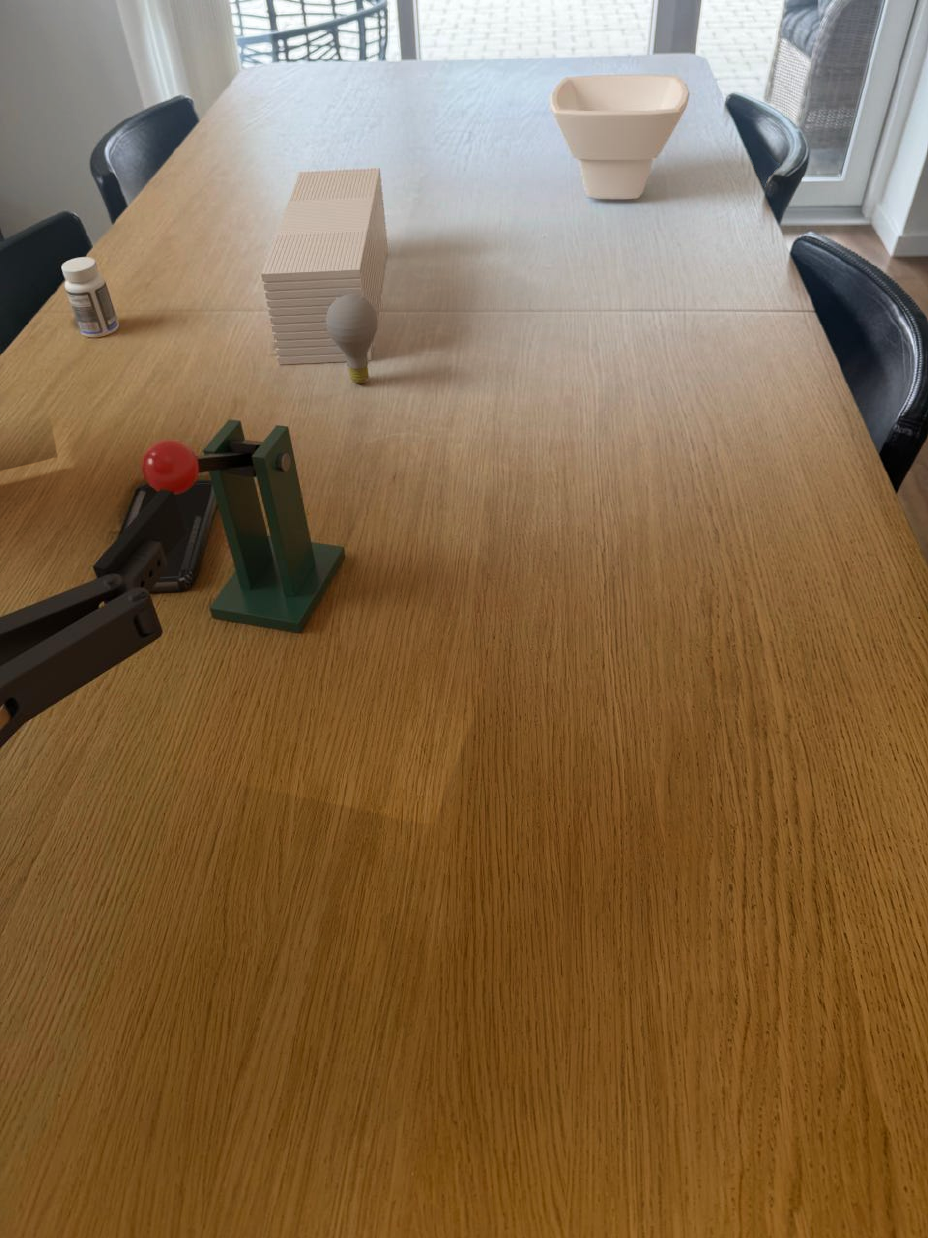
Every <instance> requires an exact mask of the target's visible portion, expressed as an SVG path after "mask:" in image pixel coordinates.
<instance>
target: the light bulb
mask: <svg viewBox="0 0 928 1238" xmlns="http://www.w3.org/2000/svg"><path fill="white" fill-rule="evenodd" d="M326 325H327V330H328V332H329V335H330V336H331V338H332V339H333V341H334V342H335V343H336V344H337V345H338V346H339V348H340V349H341V350H342V351H343V353H344V354H345V356H346V358H347V361H346V364H347V367H348V371H349V372H348V373H349V379H350V381H352V382H353V383H355V384H358V385H362V384H363V383H366V382H368V380H369V378H370V374H369V368H368V367H369V366H368V365H369V361H368V358H367V354H368V350H369V348H370V345H371V343H372V341H373V339H374V337H375V338H376V334H377V332H378V327H379V320H378V319H377V313H376V311H375V309H374V307H373V306H372V304H371V303H370V302H369V301H368V300H367V299H365V298H364V297H362V296H359V295H354V294H349V295H344V296H341V297H339V298H337V299H336V300H335V301H334V302H333V303H332V304H331V305H330V307H329V309H328V312H327V316H326ZM374 340H375V339H374Z"/></svg>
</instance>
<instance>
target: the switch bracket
mask: <svg viewBox="0 0 928 1238" xmlns="http://www.w3.org/2000/svg"><path fill="white" fill-rule="evenodd" d="M243 429H244V428H243V425H242V422H241V420H239V419H230V418H229V419H228V420H227V421H226V422H225V423H224V425H223V426H222V427H221V428H220V429H219V431H218V432H216V434H215V435H214V436H213V437H212V439H210V441H209V442H208V443H207V444H206V446H205V447H204V448H203V449H202V453H203V455H207V454H218V453H228V452H229V442H230V441H242V440H246V438H245V435H244V433H245V432H244V430H243ZM289 429H290V428H289V426H288V425H279V424H276V425H275V426H274V427H273V428H272V430H271V431H270V432H269V434H268V435H267V436H266V437H265V439H264V440H263V441H262V442H263V443H262V444H261V445H260V447H259V448H258V449H257V450H256V452H255V453H254V454H253V455H252V460H253V464H254V468H255V473H256V477H251V476H244V475H236V474H229V473H228V469H225V470H218V471H210V472H208V475H209V480H211V482H212V486H213V490H214V493H215V497H216V501H217V508H218V511H219V515H220V518H221V522H222V525H223V530H224V534H225V536H226V540H227V544H228V549H229V551H230V555H231V558H232V562H233V566H234V569H235V570H234V571H233V573H232V575H231V576H230V578H229V579H228V580H227V582H226V584H225V585H224V586H223V588H222V589H221V590H220V592H219V593H218V594H217V596H216V597H215V599H214V600H213V602H212V603H211V604H210V606H209V607H208V609H209V612H210V615H211V618H212V619H216V620H221V621H228V622H232V623H233V622H234V623H238V624H245V625H250V626H255V627H262V628H268V629H273V630H279V631H284V632H289V633H296V634H302V633H303V630H304V629H305V627H306V625H307V623H308V622H309V620H310V618H311V617H312V615H313V613H314V612H315V610H316V608H317V607H318V606H319V604H320V601H321V600H322V598H323V596H324V595H325V593H326V591H327V590H328V588H329V586H330V585H331V583H332V581H333V579H334V578H335V576H336V575H337V573H338V571H339V569H340V568H341V566H342V564H343V562H344V561H345V559H346V556H347V555H346V551H345V546H341V545H334V544H328V543H322V542H321V543H320V542H314V541H312V540H311V539H312V538H311V533H310V529H309V523H308V518H307V514H306V509H305V503H304V500H303V494H302V488H301V483H300V479H299V474H298V469H297V464H296V458H295V454H294V449H293V444H292V439H291V434H290V430H289ZM255 478H256V480H257V484H256V480H255ZM256 485H258V489H259V492H258V489H257V486H256ZM259 494H260V496H259ZM259 497H260V498H261V502H260V498H259ZM261 503H262V506H261ZM262 507H263V509H262ZM263 510H264V514H263ZM264 515H265V518H264ZM265 519H266V522H265ZM266 524H267V526H266ZM266 527H268V530H267V528H266ZM268 531H269V535H268Z"/></svg>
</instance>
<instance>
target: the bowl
mask: <svg viewBox="0 0 928 1238" xmlns="http://www.w3.org/2000/svg"><path fill="white" fill-rule="evenodd" d="M690 95H691V93H690V91H689V88H688V85H687V83H686V82H685V81H684V80H683V79H682V78H681V77H680V76H679V75H672V74H670V75H669V74H656V73H655V74H653V73H652V74H599V75H598V74H592V75H591V74H589V75H578V76H576V75H575V76H566V77H565V78H563V79H562V80H561V81H559V82H558V83H557V84H556V85H555V87H554V88H553V90H552V92H551V93H550V96H549V97H550V98H549V99H550V100H549V107H550V111H551V114H552V115H553V117H554V120H555V122H556V124H557V126H558V128H559V131H560V133H561V135H562V137H563V139H564V142H565V143H566V145H567V148H568V149H569V152H570V154H571V156H572V158H573V159H577V161H578V165H579V171H580V174H581V179H582V185H583V189H584V193H585V195H586V197H587V198H588V199H595V200H633V199H635V200H636V199H639V198H640V197H641V196H642V194H643V192H644V189H645V186H646V184H647V180H648V177H649V174H650V170H651V168H652V164H653V162H654V159H657V158H658V157H659V156H660V154H661V153H662V152H663V150H664V148H665V146H666V144H667V143H668V141H669V140H670V137H671V136H672V134H673V132H674V130H675V129H676V127H677V125H678V123H679V121H680V119H681V118H682V116H683V114H684V113H685V111H686V109H687V107H688V103H689V100H690Z"/></svg>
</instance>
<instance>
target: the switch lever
mask: <svg viewBox="0 0 928 1238" xmlns="http://www.w3.org/2000/svg"><path fill="white" fill-rule="evenodd" d="M262 443H263V441H257V440H250V439H245V440H242V441H230V442H229V452H228V453H218V454H207V455H204V454H200V455H199V454H198V455H197V454H196V452H195V451H194V450H193V449H192V448H191V447H190V446H189V445H188V444H186V443H185V442H183V441H181V440H178V439H173V438H166V439H161V440H158V441H156V442H154V443H152V445H150V446H149V447H148V448H147V449H146V450H145V452H144V454H143V456H142V460H141V470H142V471H141V472H142V475H143V477H144V479H145V481H146V483H148V484H149V485H150V486H151V487H152V488H153V489H155V490H156V491H159V490H160V489H163V490H171V491H173V492H174V495H177V494H181V493H183V492H185V491H187V490H188V489H190V488H191V487H192V486H193V485H194V483H195V482H196V480H198V478H199V474H201V473H209V472H210V471H218V470H225V469H228V473H229V474H236V475H244V476H251V477H254V478H257V477H256V473H255V468H254V464H253V460H252V455H253V454H254V453H255V452H256V450H257V449H258V448H259V447H260V445H261V444H262Z"/></svg>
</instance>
